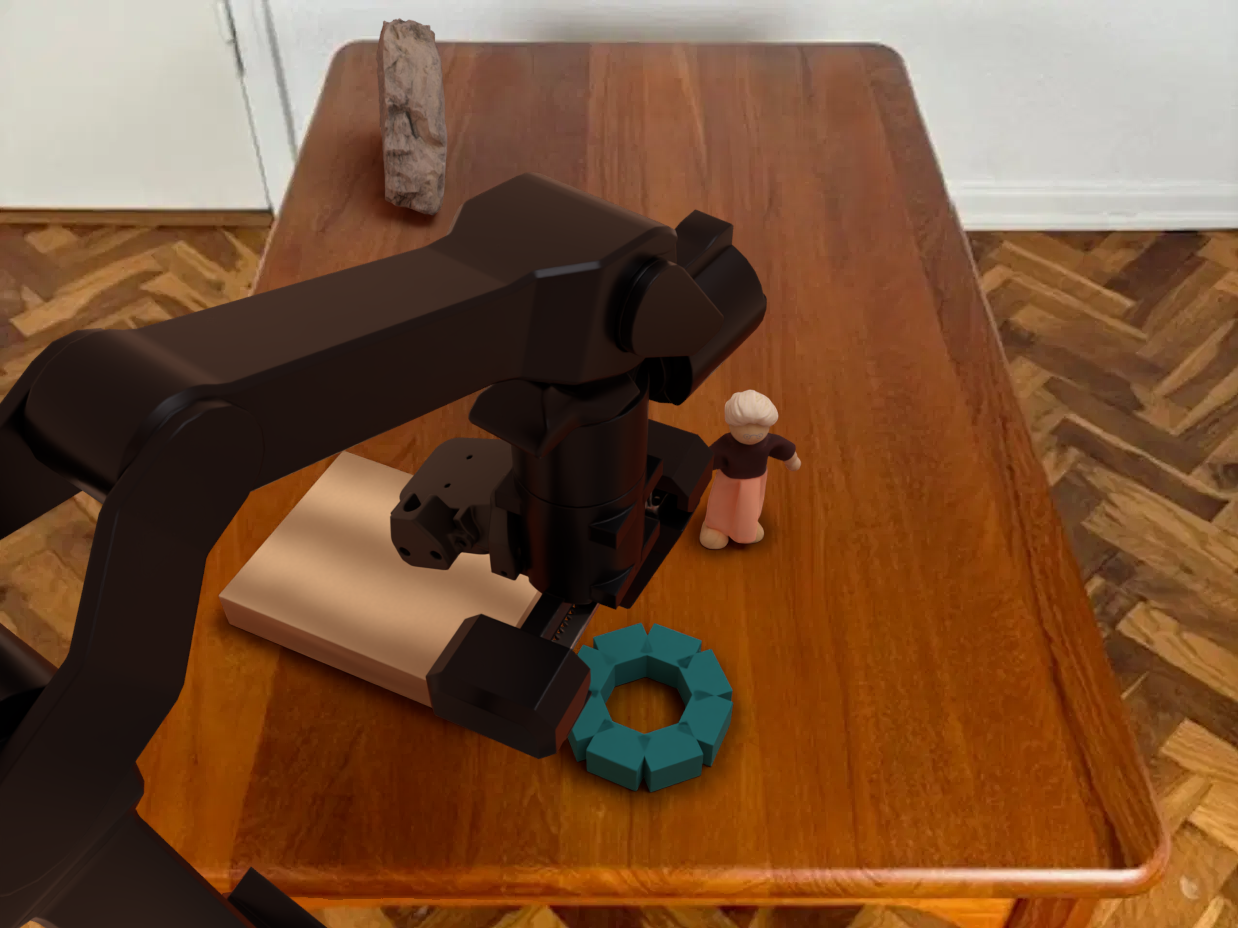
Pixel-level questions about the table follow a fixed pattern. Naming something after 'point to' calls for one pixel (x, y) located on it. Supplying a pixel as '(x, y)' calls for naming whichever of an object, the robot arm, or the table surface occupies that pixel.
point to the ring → (666, 749)
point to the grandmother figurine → (743, 470)
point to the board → (363, 584)
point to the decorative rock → (412, 115)
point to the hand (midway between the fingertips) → (584, 668)
